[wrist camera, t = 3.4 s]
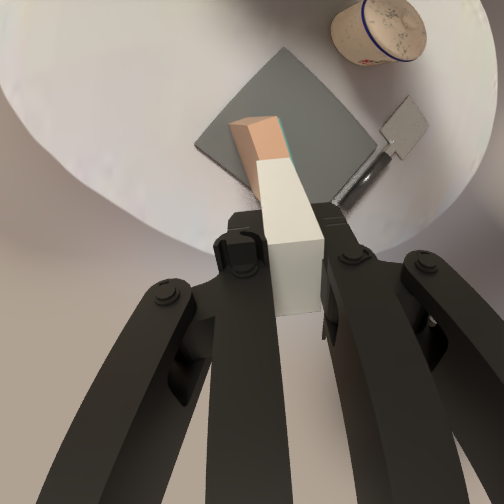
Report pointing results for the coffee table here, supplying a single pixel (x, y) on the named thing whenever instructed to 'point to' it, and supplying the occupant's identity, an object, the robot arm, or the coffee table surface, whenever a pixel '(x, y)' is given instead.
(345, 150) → the mat
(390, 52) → the teacup with lid
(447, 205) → the coffee table surface
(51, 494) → the robot arm
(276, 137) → the tile
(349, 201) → the turner
